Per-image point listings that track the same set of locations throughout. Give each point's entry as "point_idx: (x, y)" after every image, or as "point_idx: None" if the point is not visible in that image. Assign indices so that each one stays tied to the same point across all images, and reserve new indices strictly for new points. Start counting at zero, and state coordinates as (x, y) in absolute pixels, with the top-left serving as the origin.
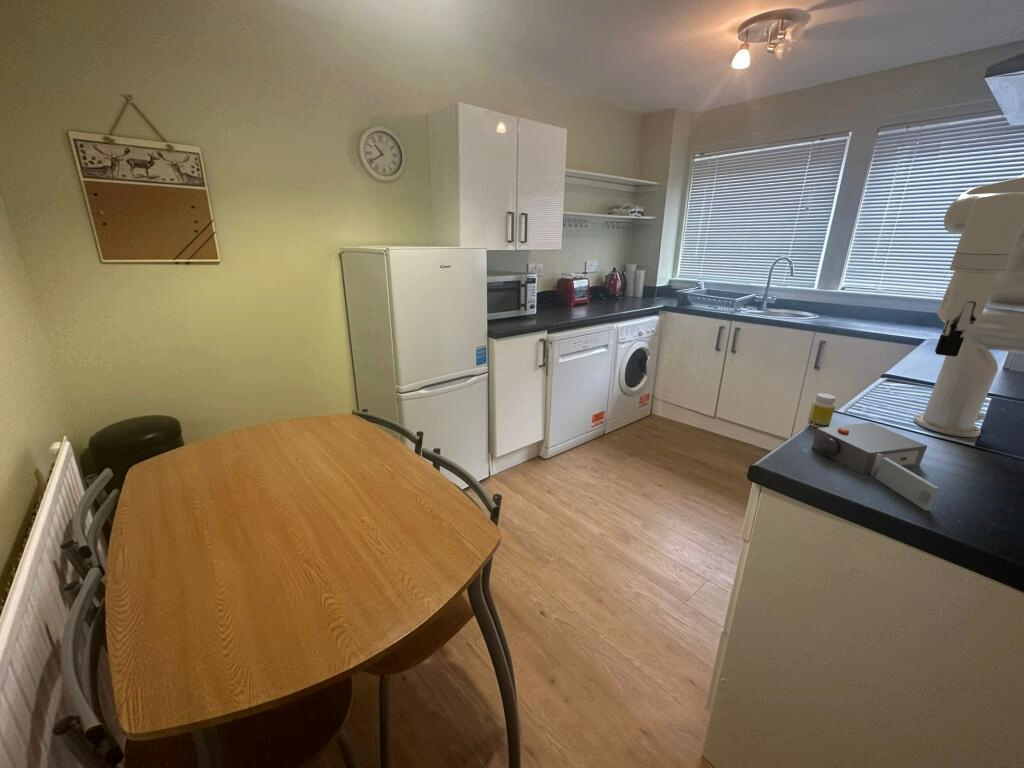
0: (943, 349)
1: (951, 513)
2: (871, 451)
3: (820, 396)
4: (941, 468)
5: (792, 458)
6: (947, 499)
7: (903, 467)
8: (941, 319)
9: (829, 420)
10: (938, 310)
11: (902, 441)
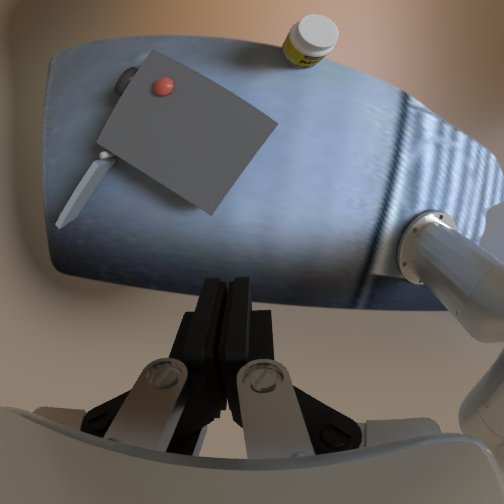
0: (184, 314)
1: (90, 235)
2: (104, 143)
3: (301, 19)
4: (233, 230)
5: (100, 58)
6: (122, 233)
7: (82, 189)
8: (28, 424)
9: (296, 61)
10: (466, 471)
11: (198, 179)
